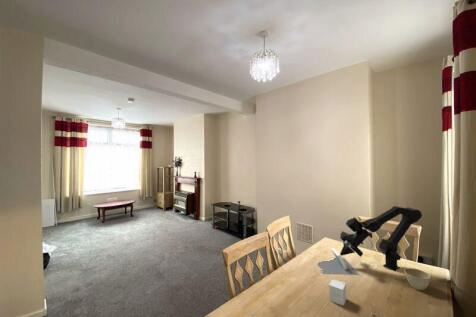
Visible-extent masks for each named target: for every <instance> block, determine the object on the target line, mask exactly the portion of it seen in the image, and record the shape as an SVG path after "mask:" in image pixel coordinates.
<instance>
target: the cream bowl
mask: <svg viewBox="0 0 476 317" xmlns="http://www.w3.org/2000/svg"><path fill="white" fill-rule="evenodd" d="M403 271H404V276H405V277H406V281H408V284H409V285H410V286H411V288H413V289H415V290H418V291H424V290H426V289H427V287H428V286H429V284H430V281H431V274H429V273H428V272H426V271H424V270H422V269H418V268H412V267H407V268H404V269H403Z"/></svg>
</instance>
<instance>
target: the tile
mask: <svg viewBox="0 0 476 317" xmlns="http://www.w3.org/2000/svg"><path fill="white" fill-rule="evenodd" d="M331 252H332V253H333V255H334V258H336V259H337V261H338V262H339V263H340V265H341V266H342V267H343V268H344V269H345V270H346V269H348V268H347V266H346V264H345V263H344V261H343V259H342V258H343V256H341V255H340V253H339V251H338V250H337V249H336V248H334V247H331Z"/></svg>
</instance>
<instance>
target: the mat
mask: <svg viewBox="0 0 476 317" xmlns="http://www.w3.org/2000/svg"><path fill="white" fill-rule="evenodd" d="M333 258H334V259H333V260H330V261H322V262H319V263H318V264H317V263H316V265H317V266H318V268H319V267H320V268H321V269H323V270H320V272H321V273H322V274H323V275H346V276H347V275H350V276H354V275H355V276H360V273H359V272H358V271H357V270H356V269H355V268H354V266H352V264H350V262H349V261H348V260H347V259H346V258H345V257H342V259H343V261H344V263H345V264H346V266H347V268H348V269H346V270H345V269H344V268H343V267H342V266H341V265H340V263H339V262H338V261H337V259H336V257H333ZM320 268H319V269H320ZM322 271H323V272H322Z"/></svg>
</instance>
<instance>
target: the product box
mask: <svg viewBox="0 0 476 317" xmlns="http://www.w3.org/2000/svg"><path fill="white" fill-rule="evenodd" d="M328 288H329V293H328V294H329V301H330V302H332V303H334V302H335V303H334V304H338V305H340V306H342V305H343V307H344V306H345V305H346V304H345V303H346V302H347V301H346V300H347V283H346V282H342V281H339V280H337V279H334V278H333V279H332V280H331V281H330V283H329V285H328Z"/></svg>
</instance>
